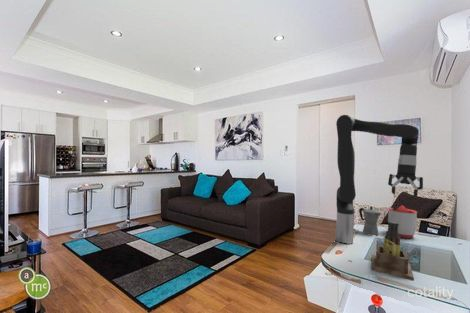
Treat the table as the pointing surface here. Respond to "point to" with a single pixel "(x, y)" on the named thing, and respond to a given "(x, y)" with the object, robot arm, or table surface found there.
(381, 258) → the bottle stand
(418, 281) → the table surface
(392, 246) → the sauce bottle
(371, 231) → the coffeepot
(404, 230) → the citrus juicer
